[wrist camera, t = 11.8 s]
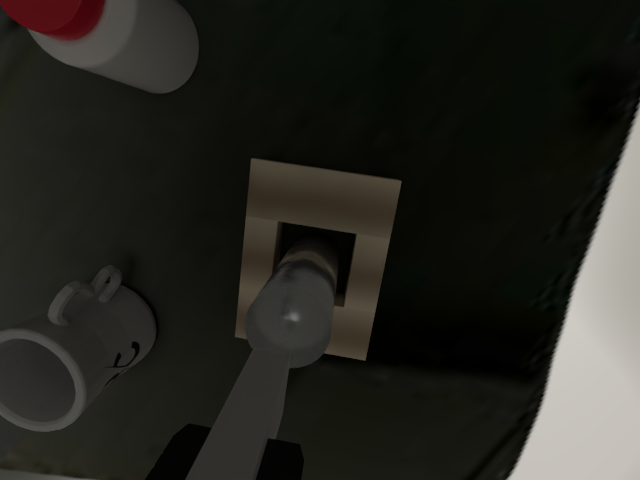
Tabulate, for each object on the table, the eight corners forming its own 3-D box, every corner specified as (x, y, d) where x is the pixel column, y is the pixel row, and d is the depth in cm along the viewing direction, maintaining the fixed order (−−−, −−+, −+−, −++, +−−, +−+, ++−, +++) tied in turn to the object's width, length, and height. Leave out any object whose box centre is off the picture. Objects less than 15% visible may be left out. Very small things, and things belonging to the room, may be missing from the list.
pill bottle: (132, -28, 27) (-13, -153, 16) (214, 24, 27) (126, -64, 16) (98, 63, 29) (-51, 5, 18) (176, 111, 29) (75, 82, 18)
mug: (148, 372, 36) (73, 451, 26) (70, 340, 36) (-35, 407, 26) (178, 272, 33) (105, 319, 23) (92, 237, 33) (-17, 269, 23)
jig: (261, 158, 29) (251, 158, 26) (396, 179, 29) (401, 181, 26) (245, 321, 33) (234, 336, 30) (364, 342, 32) (365, 360, 30)
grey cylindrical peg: (293, 227, 30) (248, 281, 17) (343, 235, 30) (337, 295, 17) (287, 274, 32) (240, 359, 18) (335, 282, 31) (324, 374, 18)
